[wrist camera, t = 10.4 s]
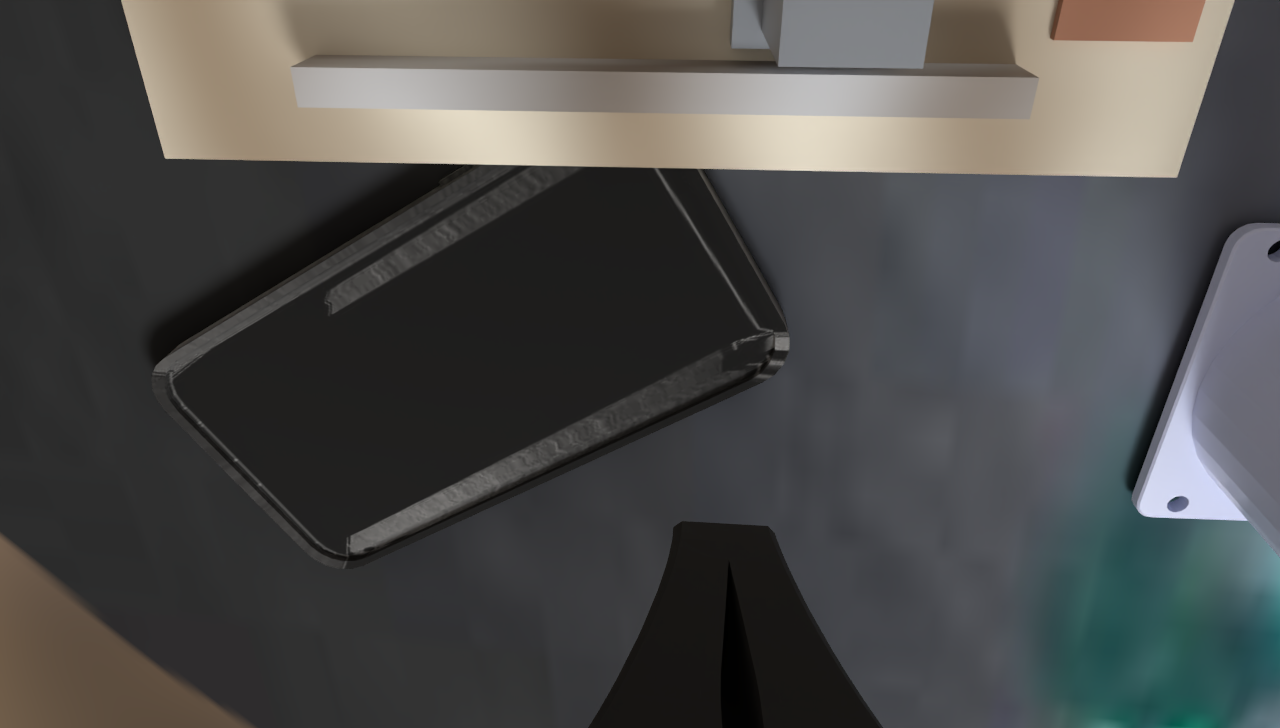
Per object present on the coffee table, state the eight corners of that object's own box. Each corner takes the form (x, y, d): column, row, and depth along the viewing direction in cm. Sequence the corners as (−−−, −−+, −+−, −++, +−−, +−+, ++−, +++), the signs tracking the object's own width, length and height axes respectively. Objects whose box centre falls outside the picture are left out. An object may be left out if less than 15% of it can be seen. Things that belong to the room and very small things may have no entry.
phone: (806, 362, 20) (332, 580, 25) (800, 339, 21) (345, 553, 26) (638, 63, 17) (127, 375, 21) (640, 53, 18) (152, 353, 22)
